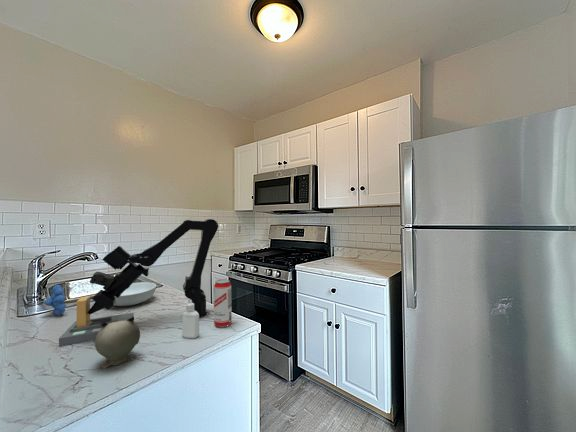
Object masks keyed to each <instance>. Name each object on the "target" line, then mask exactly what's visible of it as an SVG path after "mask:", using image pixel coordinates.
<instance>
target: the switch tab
mask: <svg viewBox="0 0 576 432" xmlns="http://www.w3.org/2000/svg"><path fill="white" fill-rule="evenodd" d="M90 308H91V296H90V295H89V296H88V295H87V296H81V297H80V298H79V299H77V301H76V321H77V327H76V328H79V327H86V326H90V325H91V323H92V322H93V321H91V322H90V319H91V314H88V311H89V310H90Z"/></svg>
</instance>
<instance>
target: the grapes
mask: <svg viewBox="0 0 576 432" xmlns="http://www.w3.org/2000/svg"><path fill="white" fill-rule="evenodd" d="M63 288H64V287H63V286H62V285H59V284H56V285H54V286H53V287H52V289H50V293H51V296H50V297H49V298H46V299H45V301H44V302H43V303H44V305H46V306H48V307H50V308H53V310H52V312H53V313H54V314H55V315H57V316H62V315H63V314H64V313H65V311H66V309H65V308H66V307H67V305H66V304H65V301H66V299H67V297H66V296H65V295H64V293H65V291H66V290H64V289H63Z"/></svg>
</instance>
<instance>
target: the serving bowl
mask: <svg viewBox="0 0 576 432" xmlns="http://www.w3.org/2000/svg"><path fill="white" fill-rule="evenodd" d="M156 288H157V284H156V283H153V282H148V281H147V282H145V281H140V282H133V283H132V284H131V285H130V287H129V288H128V289H126V290H125V291H124V292H123V293H122V294H121V295H120V296H119V297H118V298H117V297H115V296H114V297H115V298H116V302H115V304H114V305H113V306H117V307H129V306H135V305H137V304H138V305H139V304H141V303H144V302H146V301H147V300H149V299H151V298H152V297H153V296H154V294H155V292H156V290H157V289H156Z"/></svg>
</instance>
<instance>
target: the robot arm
mask: <svg viewBox="0 0 576 432" xmlns="http://www.w3.org/2000/svg"><path fill="white" fill-rule="evenodd" d="M218 228H219V224H218V222H217V221H216V220H215V219H213V218H212V219H211V218H208V219H205V220H202V221H201V220H191V219H185V220H184V221H183V222H182V223H181V224H180V225H178V226H177V227H176V228H174V230H173V231H171V232H170V233H168V235H166V236H165V237H164V238H163V239H161V240H160V241H159V242H156V243H155V244H154V245H151V246H150V247H148V248H146V249H144V250H142V252H139V253H134V254H130V253H129V252H127V251H126V250H125V249H124V248H123V247H122V246H121V245H118V246H117V247H116V248H114V249H113V250H112V251H110V252H109V253H107V254H106V255H105V256H104V257H103V258H102V261H103V262H104V263H106V265H109V266H110V267H111V268H112V269H114V270H115V271H116V270H119V269H120V270H121V271H120V272H119V274H115V275H111V274H108V273H105V272H101V271H96V272H94V273H93V274H92V276H91V277H90V280H89V283H90V284H92V285H95V284H96V285H97V286H98V285H99V286H102V289H100V290H99V291H98V292H97V293H96V294H95V295H94V296H93V297H92V298H91V299H92V300H93V302H94V303H93V304H92V306H90V310H89V311H88V314H90V315H92V314H94V313H96V312H99V311H100V310H103V309H105V310H110V309H111V308H112V307H113V306H115V305H114V304H115V302H116V298H115V297H117V298H118V297H119V296H120V295H121V294H122V293H123V292H124V291H125V290H126V289H128V288H129V287H130V285H131V284H132V283H135V281H137V280H138V279H139V278H140V277H141V276H142V275H143V276H144V277H148V276H149V274H150V273H149V272H150V271H149V270H150V268H149V267H151V266H152V265H154V264H155V263H156V262H157V261H158V259H160V257H161V256H162V255H163V254H164V252H165V251H166V250H167V249H168V248H169V247H172V245H173V244H174V243H176V242H177V241H178V240H179V239H180V238H182V237H183V236H184V235H185V234H186V233H188V232H189V231H191V230H193V231H201V233H200V242H199V245H198V249H197V252H196V256H195V259H194V263H193V266H192V271H191V272H190V274H189V276H188V275H187V276H186V275H185V279H184V283H183V284H182V289H183V293H184V296H185V297H186V298H187V299H188V300H192V303H194V310H195V311H197V312H198V313H199V319H201V318H202V317H205V316H206V315H207V314H209V313H210V312H209V311H207V299H206V298H207V296H206V293H205V291H204V290H203V289H202V288H201V287H202V274H203V270H204V267H205V263H206V260H207V256H208V253H209V249H210V246H211V243H212V241H213V239H214V237H215V235H216V234H217V232H218ZM124 267H125V268H124ZM145 267H146V268H145ZM122 269H123V270H122ZM114 296H115V297H114Z"/></svg>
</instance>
